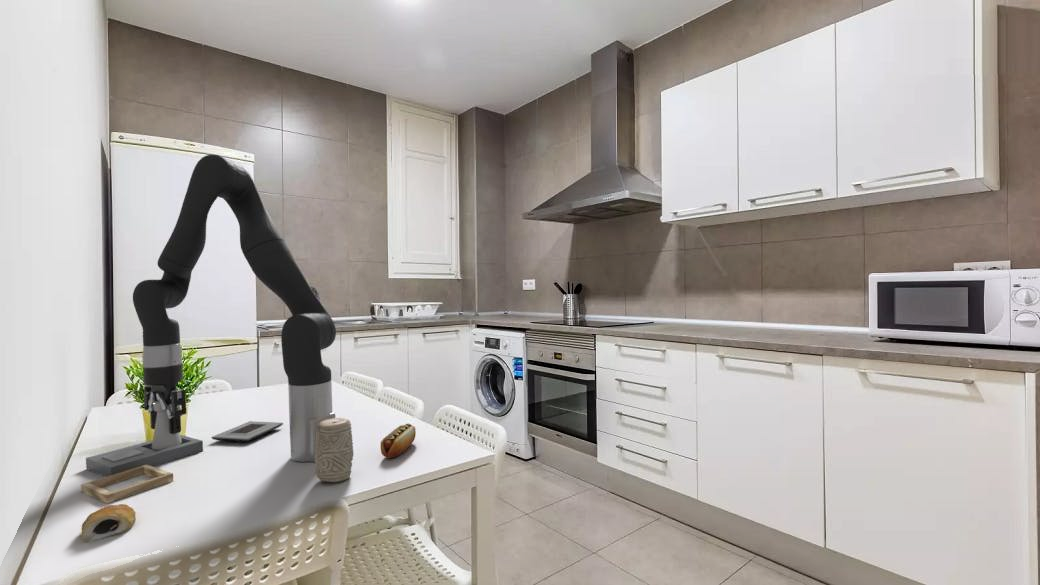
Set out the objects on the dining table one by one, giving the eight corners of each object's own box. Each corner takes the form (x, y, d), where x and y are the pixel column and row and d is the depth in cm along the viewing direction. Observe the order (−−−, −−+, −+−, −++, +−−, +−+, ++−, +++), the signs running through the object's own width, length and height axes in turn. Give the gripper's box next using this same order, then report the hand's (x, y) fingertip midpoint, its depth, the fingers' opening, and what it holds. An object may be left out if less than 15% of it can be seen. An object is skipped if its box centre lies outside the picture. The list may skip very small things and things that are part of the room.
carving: (360, 476, 98) (358, 419, 97) (325, 489, 92) (323, 428, 92) (344, 469, 102) (342, 414, 101) (309, 481, 96) (307, 422, 96)
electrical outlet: (248, 446, 119) (247, 437, 118) (211, 445, 120) (211, 435, 120) (283, 430, 131) (283, 421, 131) (250, 428, 133) (249, 420, 133)
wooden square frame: (173, 480, 98) (173, 473, 98) (107, 503, 88) (106, 495, 88) (146, 471, 103) (146, 464, 103) (81, 491, 93) (81, 484, 93)
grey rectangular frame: (203, 450, 115) (202, 439, 115) (111, 479, 99) (110, 466, 99) (176, 443, 121) (176, 433, 121) (86, 469, 105) (85, 457, 105)
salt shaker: (186, 452, 114) (184, 398, 114) (158, 460, 109) (156, 404, 109) (175, 448, 117) (172, 396, 117) (147, 455, 112) (145, 401, 112)
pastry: (88, 522, 82) (87, 500, 82) (138, 510, 86) (138, 489, 86) (79, 546, 74) (78, 522, 74) (134, 532, 78) (133, 509, 78)
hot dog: (420, 441, 118) (419, 422, 118) (398, 462, 105) (398, 440, 105) (401, 441, 119) (400, 421, 119) (377, 461, 106) (377, 439, 106)
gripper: (196, 362, 113) (199, 430, 113) (165, 358, 119) (168, 422, 120) (160, 368, 106) (163, 439, 107) (129, 363, 113) (132, 431, 113)
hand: (165, 430), depth 113 cm, fingers open, 8 cm apart
